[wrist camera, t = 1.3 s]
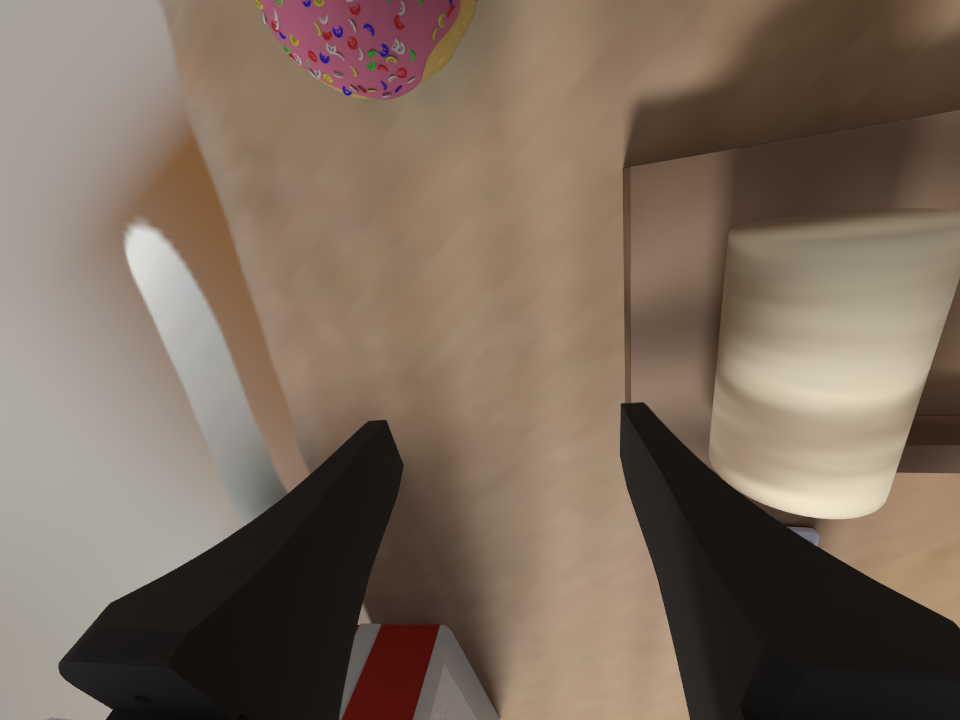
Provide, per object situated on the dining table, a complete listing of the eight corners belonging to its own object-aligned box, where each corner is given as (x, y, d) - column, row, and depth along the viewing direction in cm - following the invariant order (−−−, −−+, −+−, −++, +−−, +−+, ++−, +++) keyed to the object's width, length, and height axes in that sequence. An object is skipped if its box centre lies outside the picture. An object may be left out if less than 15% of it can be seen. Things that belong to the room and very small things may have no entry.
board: (1198, 440, 18) (1287, 477, 16) (625, 442, 24) (631, 469, 22) (1486, 19, 12) (1699, -19, 10) (622, 168, 18) (630, 166, 16)
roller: (830, 425, 19) (934, 522, 13) (692, 426, 20) (737, 515, 15) (881, 204, 15) (1058, 217, 9) (706, 227, 16) (773, 249, 11)
